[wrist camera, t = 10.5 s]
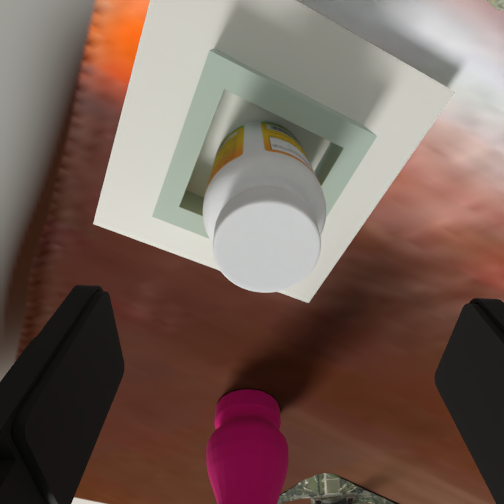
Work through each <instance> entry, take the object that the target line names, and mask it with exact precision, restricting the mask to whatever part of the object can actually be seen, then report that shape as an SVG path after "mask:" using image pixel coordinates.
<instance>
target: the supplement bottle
mask: <svg viewBox="0 0 504 504" xmlns="http://www.w3.org/2000/svg"><path fill="white" fill-rule="evenodd" d="M325 221H326V201H325V197H324V194H323V191H322V188H321V185H320V183H319V181H318V179H317V177H316V175H315V173H314V171H313V168H312V166H311V164H310V162H309V160H308V158H307V156H306V153H305V151H304V149H303V147H302V146H301V144H300V142H299V141H298V139H297V138H296V137H295V136H294V135H293V134H292V133H291V132H290V131H289V130H288V129H286V128H285V127H283V126H281V125H279V124H276V123H273V122H269V121H253V122H249V123H245V124H243V125H241V126H239V127H237V128H235V129H234V130H233V131H231V132H230V133H229V134H228V135H227V136H226V137H225V138H224V140H223V141H222V142H221V144H220V146H219V148H218V150H217V153H216V156H215V159H214V163H213V167H212V171H211V175H210V178H209V182H208V185H207V189H206V192H205V197H204V202H203V222H204V227H205V230H206V233H207V235H208V237H209V239H210V240H211V242H212V244H213V254H214V258H215V261H216V264H217V266H218V268H219V269H220V271H221V272H222V273H223V275H224V276H225V277H226V278H227V279H229V280H230V281H231V282H232V283H234V284H236V285H237V286H239V287H241V288H244V289H247V290H250V291H255V292H264V293H266V292H276V291H281V290H285V289H288V288H290V287H292V286H294V285H296V284H298V283H299V282H301V281H302V280H303V279H305V278H306V277H307V276H308V275H309V274H310V272H311V271H312V270H313V269H314V267H315V265H316V263H317V261H318V259H319V255H320V251H321V237H320V236H321V234H322V231H323V229H324V225H325Z"/></svg>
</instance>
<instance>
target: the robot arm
mask: <svg viewBox="0 0 504 504" xmlns="http://www.w3.org/2000/svg"><path fill="white" fill-rule="evenodd" d="M123 373H124V360H123V355H122V351H121V346H120V342H119V337H118V332H117V328H116V323H115V319H114V314H113V309H112V305H111V300H110V296H109V293H108V292H103V290H102V288H101V287H100V286H89V285H77V286H75V287H74V288H73V289H72V291H71V292H70V293H69V295H68V296H67V297H66V299H65V300H64V301H63V302H62V304H61V305H60V306H59V308H58V309H57V310H56V312H55V313H54V314H53V316H52V317H51V318H50V320H49V321H48V322H47V324H46V325H45V326H44V328H43V329H42V330H41V332H40V333H39V334H38V336H37V337H35V338H34V339H33V340H32V341H31V342H30V343H29V345H28V346H27V347H26V349H25V350H24V351H23V353H22V354H21V355H20V357H19V358H18V359H17V361H16V362H15V363H14V365H13V366H12V367H11V369H10V370H9V371H8V373H7V374H6V375H5V376H4V378H3V379H2V380H1V382H0V504H71V503H72V500H73V498H74V495H75V493H76V490H77V488H78V485H79V483H80V481H81V478H82V476H83V473H84V471H85V468H86V466H87V463H88V461H89V458H90V456H91V453H92V451H93V448H94V446H95V444H96V441H97V439H98V436H99V434H100V431H101V429H102V426H103V424H104V421H105V419H106V416H107V414H108V411H109V409H110V407H111V404H112V402H113V399H114V397H115V394H116V392H117V389H118V387H119V384H120V382H121V379H122V377H123ZM435 384H436V387H437V389H438V391H439V393H440V395H441V397H442V399H443V401H444V403H445V405H446V407H447V408H448V410H449V412H450V414H451V416H452V418H453V420H454V422H455V424H456V426H457V428H458V430H459V432H460V434H461V436H462V438H463V440H464V442H465V443H466V445H467V447H468V449H469V451H470V453H471V455H472V457H473V459H474V461H475V463H476V465H477V467H478V469H479V471H480V473H481V475H482V477H483V478H484V480H485V482H486V484H487V486H488V488H489V490H490V492H491V494H492V496H493V498H494V500H495V502H496V504H504V303H503V302H502V301H501V300H499V299H483V298H475V299H472V300H471V301H470V303H469V304H466V305H464V307H463V309H462V311H461V313H460V316H459V318H458V320H457V323H456V325H455V328H454V330H453V332H452V335H451V337H450V339H449V342H448V344H447V347H446V349H445V351H444V354H443V356H442V358H441V361H440V363H439V366H438V368H437V370H436V373H435Z"/></svg>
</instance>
